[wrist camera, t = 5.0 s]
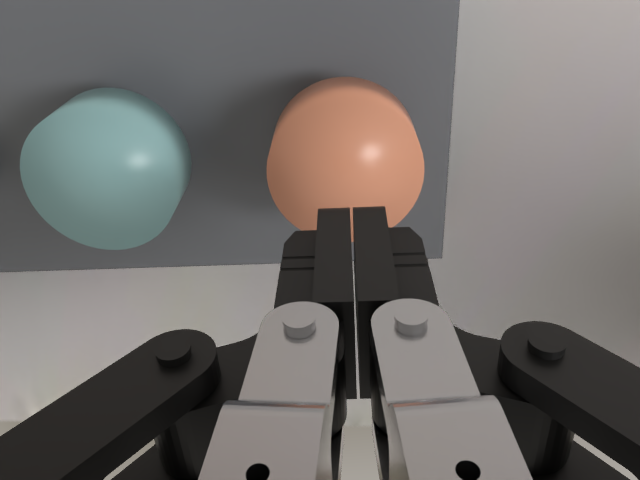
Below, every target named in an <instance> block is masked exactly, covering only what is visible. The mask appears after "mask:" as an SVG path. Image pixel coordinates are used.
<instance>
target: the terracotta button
mask: <svg viewBox="0 0 640 480" xmlns="http://www.w3.org/2000/svg"><path fill="white" fill-rule="evenodd" d="M266 169H267V182H268V187H269V190H270V193H271V196H272V198H273V200H274V202H275V204H276V206H277V207H278V209H279V210H280V212H281V213H282V214H283V215H284V216H285V218H286V219H287V220H288V221H289V222H291V223H292V224H293V225H294V226H295V227H297V228H298V229H300V230H301V231H304V230H317V215H318V209H320V208H347V207H350V223H351V242H354V239H353V207H372V206H385V210H386V216H387V222H388V227H394V226H395V225H396V224H398V223H399V222H400V221H401V220H402V219H403V218H404V217H405V216H406V215H407V214H408V213H409V211H410V210H411V209H412V207H413V206H414V204H415V202H416V201H417V199H418V196H419V194H420V192H421V188H422V185H423V180H424V158H423V152H422V149H421V146H420V143H419V140H418V138H417V135H416V132H415V129H414V126H413V123H412V121H411V118H410V116H409V114H408V112H407V110H406V109H405V107H404V106H403V104H402V103H401V102H400V101H399V100H398V99H397V97H396V96H394V95H393V94H392V93H391V92H390V91H388V90H387V89H385V88H384V87H382V86H381V85H379V84H376V83H374V82H372V81H369V80H365V79H362V78H356V77H334V78H329V79H325V80H321V81H319V82H316V83H314V84H312V85H310V86H308V87H306V88H305V89H303V90H302V91H301V92H299V93H298V94H297V95H296V96H295V97H294V98H293V99H291V100H290V102H289V103H288V104H287V105H286V107H285V108H284V110H283V111H282V113H281V115H280V117H279V119H278V122H277V124H276V127H275V131H274V135H273V139H272V143H271V147H270V151H269V155H268V159H267V168H266Z"/></svg>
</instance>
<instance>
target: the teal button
mask: <svg viewBox="0 0 640 480" xmlns="http://www.w3.org/2000/svg"><path fill="white" fill-rule="evenodd" d="M191 164H192V162H191V154H190V150H189V146H188V143H187V141H186V138H185V136H184V134H183V132H182V130H181V129H180V127H179V126H178V124H177V123H176V122H175V120H174V119H173V118H172V117H171V116H170V115H169V114H168V113H167V112H166V111H165V110H164V109H163V108H162V107H161V106H159V105H158V104H156V103H155V102H153V101H152V100H150V99H148V98H147V97H145V96H143V95H140V94H138V93H135V92H132V91H129V90H125V89H119V88H96V89H92V90H88V91H85V92H83V93H80V94H78V95H76V96H75V97H73V98H72V99H70V100H69V101H67V102H66V103H65V104H63V105H62V106H61V107H59V108H58V109H57V110H55V111H54V112H53V113H52V114H50V115H49V116H48V117H46V118H45V119H44V120H42V121H41V122H40V123H39V124H38V125H36V126H35V127H34V128H33V130H32V131H31V132H30V133H29V135H28V137H27V138H26V140H25V142H24V145H23V148H22V151H21V156H20V174H21V179H22V183H23V187H24V189H25V192H26V194H27V196H28V198H29V200H30V202H31V203H32V205H33V206H34V208H35V209H36V211H37V212H38V213H39V214H40V215H41V217H42V218H43V219H44V220H45V221H46V222H47V223H48V224H50V225H51V226H52V227H53V228H54V229H56V230H57V231H58V232H60V233H61V234H63V235H65V236H66V237H68V238H70V239H72V240H74V241H76V242H78V243H81V244H84V245H86V246H90V247H94V248H98V249H106V250H122V249H129V248H134V247H137V246H140V245H143V244H145V243H147V242H149V241H151V240H152V239H153V238H155V237H156V236H158V235H159V234H160V233H161V232H162V231H163V230H164V228H165V227H166V226H167V224H168V223H169V221H170V219H171V217H172V215H173V213H174V211H175V210H176V208H177V206H178V204H179V202H180V200H181V198H182V196H183V194H184V192H185V190H186V188H187V186H188V183H189V180H190V175H191Z"/></svg>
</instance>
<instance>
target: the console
mask: <svg viewBox="0 0 640 480" xmlns="http://www.w3.org/2000/svg"><path fill="white" fill-rule="evenodd" d="M459 2H460V0H0V272H21V271H53V270H85V269H116V268H148V267H180V266H211V265H243V264H274V263H281V260H282V254H283V247H284V243H285V242H286V240H287V239H288V238H289V237H290V236H291V235H292V234H293V233H294V232H295V231H301V230H300V229H298V228H297V227H295V226H294V225H293V224H292V223H291V222H289V221H288V220H287V219H286V218H285V216H284V215H283V214H282V213H281V212H280V210H279V209H278V207H277V206H276V204H275V202H274V200H273V198H272V196H271V193H270V190H269V187H268V182H267V169H266V168H267V159H268V155H269V151H270V147H271V143H272V139H273V135H274V131H275V127H276V124H277V122H278V119H279V117H280V115H281V113H282V111H283V110H284V108H285V107H286V105H287V104H288V103H289V102H290V100H291V99H293V98H294V97H295V96H296V95H297V94H298V93H299V92H301V91H302V90H303V89H305V88H306V87H308V86H310V85H312V84H314V83H316V82H319V81H321V80H325V79H329V78H334V77H356V78H362V79H365V80H369V81H372V82H374V83H376V84H379V85H381V86H382V87H384V88H385V89H387V90H388V91H390V92H391V93H392V94H393V95H394V96H396V97H397V99H398V100H399V101H400V102H401V103H402V104H403V106H404V107H405V109H406V110H407V112H408V114H409V116H410V118H411V121H412V123H413V126H414V129H415V132H416V135H417V138H418V140H419V143H420V146H421V149H422V152H423V158H424V180H423V185H422V188H421V192H420V194H419V196H418V199H417V201H416V202H415V204H414V206H413V207H412V209H411V210H410V211H409V213H408V214H407V215H406V216H405V217H404V218H403V219H402V220H401V221H400V222H399V223H398V224H396V225H395V226H394V227H410V228H411V229H412V230H413V231H414V232H416V233H417V234H418V235H419V236H420V237H421V238H422V241H423V245H424V249H425V255H426V257H427V259H432V258H442V250H443V236H444V221H445V206H446V192H447V177H448V162H449V148H450V133H451V119H452V104H453V89H454V75H455V60H456V46H457V31H458V16H459ZM96 88H119V89H125V90H129V91H132V92H135V93H138V94H140V95H143V96H145V97H147V98H148V99H150V100H152V101H153V102H155V103H156V104H158V105H159V106H161V107H162V108H163V109H164V110H165V111H166V112H167V113H168V114H169V115H170V116H171V117H172V118H173V119H174V120H175V122H176V123H177V124H178V126H179V127H180V129H181V130H182V132H183V134H184V136H185V138H186V141H187V143H188V146H189V150H190V154H191V162H192V164H191V175H190V180H189V183H188V186H187V188H186V190H185V192H184V194H183V196H182V198H181V200H180V202H179V204H178V206H177V208H176V210H175V211H174V213H173V215H172V217H171V219H170V221H169V223H168V224H167V226H166V227H165V228H164V230H163V231H162V232H161V233H160V234H159V235H158V236H156V237H155V238H153V239H152V240H151V241H149V242H147V243H145V244H143V245H140V246H137V247H134V248H129V249H122V250H106V249H98V248H94V247H90V246H86V245H84V244H81V243H78V242H76V241H74V240H72V239H70V238H68V237H66V236H65V235H63V234H61V233H60V232H58V231H57V230H56V229H54V228H53V227H52V226H51V225H50V224H48V223H47V222H46V221H45V220H44V219H43V218H42V217H41V215H40V214H39V213H38V212H37V211H36V209H35V208H34V206H33V205H32V203H31V202H30V200H29V198H28V196H27V194H26V192H25V189H24V187H23V183H22V179H21V174H20V156H21V151H22V148H23V145H24V142H25V140H26V138H27V137H28V135H29V133H30V132H31V131H32V130H33V128H34V127H35V126H36V125H38V124H39V123H40V122H41V121H42V120H44V119H45V118H46V117H48V116H49V115H50V114H52V113H53V112H54V111H55V110H57V109H58V108H59V107H61V106H62V105H63V104H65V103H66V102H67V101H69V100H70V99H72V98H73V97H75V96H76V95H78V94H80V93H83V92H85V91H88V90H92V89H96ZM351 246H352V261H354V242H351Z"/></svg>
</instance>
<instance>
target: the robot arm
mask: <svg viewBox="0 0 640 480" xmlns="http://www.w3.org/2000/svg"><path fill="white" fill-rule="evenodd" d="M353 239H354V273H355V299H356V320H357V341H358V363H359V384H360V399H363V398H371V406H372V435H373V442H374V448H375V454H376V460H377V466H378V472H379V479H380V480H630V479H628V478H627V477H626V476H624V475H622V474H621V473H620V472H618V471H617V470H615V469H614V468H613V467H611V466H610V465H608V464H607V463H605V462H604V461H602V460H601V459H600V458H598V457H597V456H595V455H594V454H592V453H591V452H589V451H588V450H586V449H585V448H584V447H582V446H581V445H579V444H578V443H576V442H575V441H573V438H574V434H577V435H578V436H580V437H581V438H582V439H584V440H585V441H587V442H588V443H590V444H591V445H593V446H594V447H596V448H597V449H599V450H600V451H602V452H603V453H604V454H606V455H607V456H609V457H610V458H612V459H613V460H615V461H616V462H618V463H619V464H621V465H622V466H623V467H625V468H626V469H628V470H629V471H630V472H632V473H633V474H634V475H635V476H636V477H637V478H638V480H640V368H639V367H637V366H635V365H633V364H632V363H630V362H628V361H626V360H624V359H622V358H621V357H619V356H617V355H615V354H613V353H611V352H610V351H608V350H606V349H604V348H602V347H600V346H599V345H597V344H595V343H593V342H591V341H589V340H587V339H586V338H584V337H582V336H580V335H578V334H576V333H575V332H573V331H571V330H569V329H567V328H565V327H562V326H559V325H556V324H552V323H547V322H538V321H532V322H523V323H519V324H516V325H514V326H512V327H510V328H509V329H507V330H506V331H505V333H504V334H503V336H502V338H501V340H497V339H492V338H487V337H482V336H477V335H473V334H470V333H467V332H465V331H463V330H461V329H458V328H457V327H455V326H454V325H453V324H452V322H451V319H450V317H449V315H448V314H447V313H446V312H445V311H444V310H443V309H442V308H440V307H439V304H438V300H437V296H436V292H435V288H434V284H433V280H432V276H431V273H430V269H429V266H428V261H427V257H426V255H425V249H424V245H423V241H422V238H421V237H420V236H419V235H418V234H417V233H416V232H414V231H413V230H412V229H411V228H410V227H388V222H387V216H386V210H385V206H372V207H353ZM346 399H357V392H356V358H355V324H354V294H353V270H352V246H351V223H350V207H347V208H320V209H318V215H317V230H304V231H295V232H294V233H293V234H292V235H291V236H290V237H289V238H288V239H287V240H286V242H285V243H284V247H283V254H282V260H281V267H280V273H279V279H278V286H277V292H276V299H275V305H274V309H273V310H272V311H271V312H269V313H268V314H267V315H266V316H265V317H264V319H263V320H262V322H261V325H260V328H259V332H258V333H257V334H256V335H254V336H252V337H250V338H248V339H245V340H243V341H240V342H236V343H232V344H229V345H225V346H221V347H217V348H216V345H215V343H214V341H213V339H212V338H211V337H210V336H208V335H207V334H205V333H203V332H200V331H197V330H190V329H181V330H174V331H169V332H166V333H163V334H160V335H158V336H156V337H154V338H152V339H150V340H149V341H147V342H146V343H144V344H143V345H141V346H139V347H138V348H136V349H135V350H133V351H132V352H130V353H129V354H127V355H125V356H124V357H122V358H121V359H119V360H118V361H116V362H115V363H113V364H112V365H110V366H108V367H107V368H105V369H104V370H102V371H101V372H99V373H98V374H96V375H95V376H93V377H91V378H90V379H88V380H87V381H85V382H84V383H82V384H81V385H79V386H77V387H76V388H74V389H73V390H71V391H70V392H68V393H67V394H65V395H64V396H62V397H60V398H59V399H57V400H56V401H54V402H53V403H51V404H50V405H48V406H47V407H45V408H43V409H42V410H40V411H39V412H37V413H36V414H34V415H33V416H31V417H29V418H28V419H26V420H25V421H23V422H22V423H20V424H19V425H17V426H16V427H14V428H12V429H11V430H9V431H8V432H6V433H5V434H3V435H2V436H0V480H103V479H104V478H105V477H106V476H107V475H108V474H109V473H111V472H112V471H113V470H115V469H116V468H117V467H118V466H120V465H121V464H122V463H124V462H125V461H126V460H127V459H129V458H130V457H131V456H132V455H134V454H135V453H136V452H138V451H139V450H140V449H141V448H143V447H144V446H145V445H146V444H147V443H149V442H150V441H152V440H153V439H154V440H155V445H154V446H153V447H151V448H150V449H149V450H148V451H146V452H145V453H144V454H143V455H141V456H140V457H139V458H138V459H136V460H135V461H134V462H132V463H131V464H130V465H129V466H127V467H126V468H125V469H124V470H122V471H121V472H120V473H119V474H117V475H116V476H115V477H114V478H112V479H111V480H341V479H340V478H341V467H342V454H343V441H344V423H345V420H346V415H347V402H346Z"/></svg>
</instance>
